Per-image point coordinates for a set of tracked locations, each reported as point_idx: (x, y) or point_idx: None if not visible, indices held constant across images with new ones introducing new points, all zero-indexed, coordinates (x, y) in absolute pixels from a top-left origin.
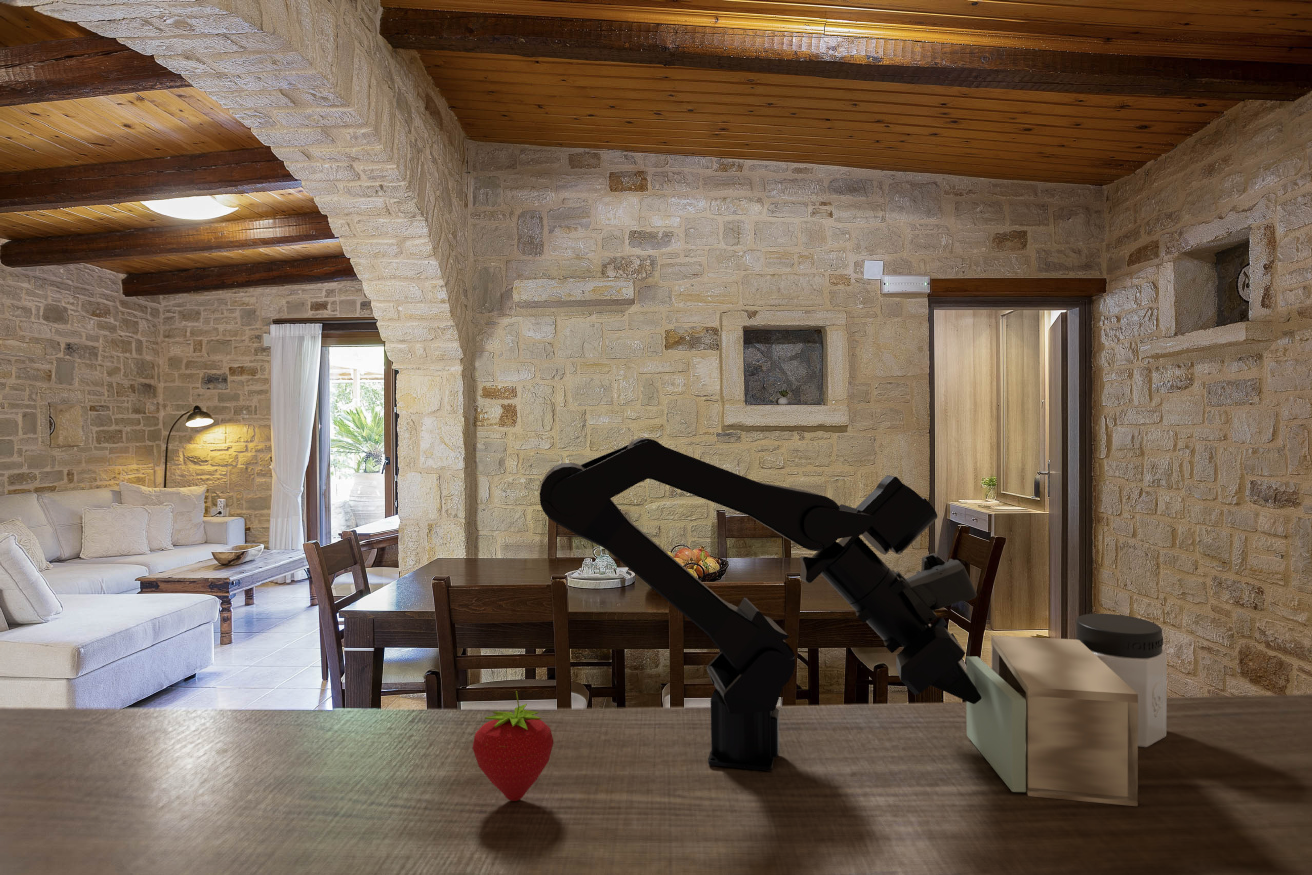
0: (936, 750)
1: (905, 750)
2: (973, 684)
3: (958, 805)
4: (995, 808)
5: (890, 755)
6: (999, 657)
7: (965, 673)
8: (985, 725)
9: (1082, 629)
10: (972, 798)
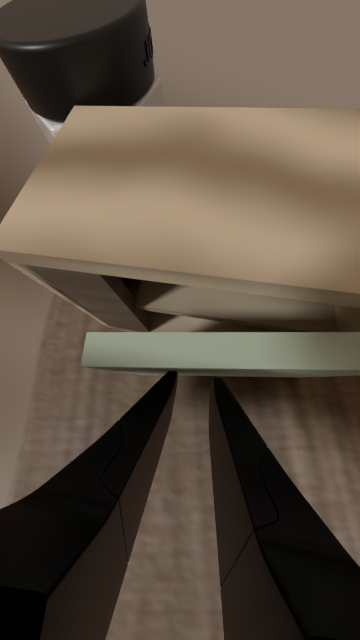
0: (182, 435)
1: (183, 491)
2: (175, 379)
3: (346, 465)
4: (340, 413)
5: (201, 528)
6: (105, 279)
7: (263, 445)
8: (220, 374)
9: (63, 64)
10: (320, 435)
